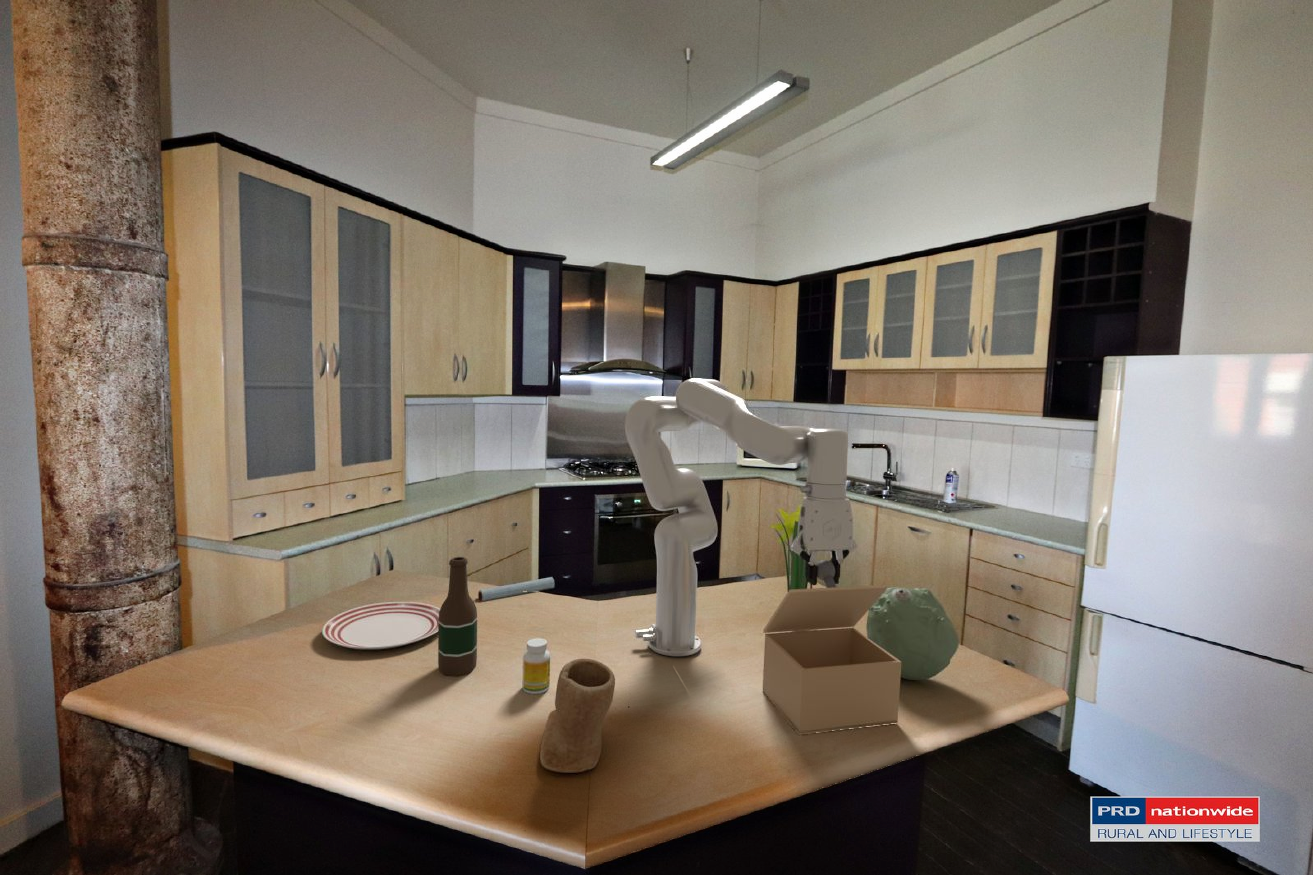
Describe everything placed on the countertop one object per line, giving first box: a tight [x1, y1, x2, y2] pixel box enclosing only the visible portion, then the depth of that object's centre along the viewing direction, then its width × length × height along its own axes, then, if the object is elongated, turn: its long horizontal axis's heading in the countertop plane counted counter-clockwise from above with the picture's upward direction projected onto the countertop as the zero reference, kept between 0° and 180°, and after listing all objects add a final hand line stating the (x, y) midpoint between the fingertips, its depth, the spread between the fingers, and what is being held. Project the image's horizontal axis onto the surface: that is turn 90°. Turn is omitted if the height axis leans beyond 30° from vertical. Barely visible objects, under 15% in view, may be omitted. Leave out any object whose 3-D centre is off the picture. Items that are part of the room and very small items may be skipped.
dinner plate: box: [321, 601, 441, 650], centre depth 143 cm, size 27×27×3 cm
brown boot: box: [539, 658, 616, 774], centre depth 99 cm, size 15×12×15 cm
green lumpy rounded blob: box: [865, 586, 960, 681], centre depth 129 cm, size 16×19×20 cm
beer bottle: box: [437, 556, 478, 678], centre depth 125 cm, size 8×8×24 cm
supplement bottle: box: [522, 637, 551, 695], centre depth 119 cm, size 5×5×10 cm
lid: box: [763, 559, 889, 634], centre depth 120 cm, size 20×16×8 cm
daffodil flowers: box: [769, 495, 813, 593], centre depth 159 cm, size 17×15×35 cm
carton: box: [762, 627, 902, 736], centre depth 115 cm, size 20×16×12 cm
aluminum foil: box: [477, 576, 555, 602], centre depth 172 cm, size 23×7×3 cm, turn 128°
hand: (822, 581), depth 118 cm, fingers closed on lid, 4 cm apart
